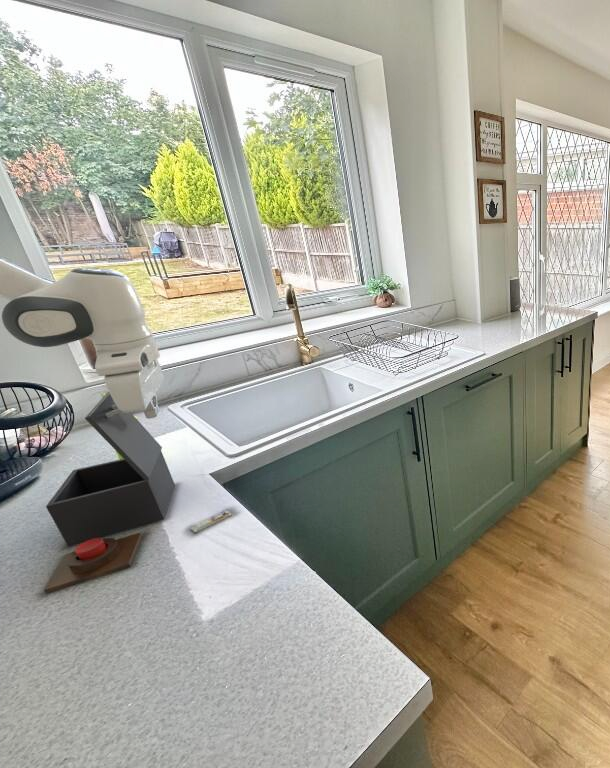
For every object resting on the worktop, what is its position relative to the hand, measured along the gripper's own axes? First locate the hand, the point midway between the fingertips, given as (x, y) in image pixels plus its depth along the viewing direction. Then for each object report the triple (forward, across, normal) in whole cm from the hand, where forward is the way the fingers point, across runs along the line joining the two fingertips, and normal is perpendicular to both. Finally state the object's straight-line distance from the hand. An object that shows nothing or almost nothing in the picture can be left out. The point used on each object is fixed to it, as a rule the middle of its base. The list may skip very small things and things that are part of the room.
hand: (153, 415), depth 87 cm
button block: (+19, +18, -10) cm, 29 cm away
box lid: (+2, +4, -4) cm, 6 cm away
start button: (+17, +19, -10) cm, 27 cm away
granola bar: (+19, +16, +7) cm, 26 cm away
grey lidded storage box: (+19, +4, -9) cm, 22 cm away
